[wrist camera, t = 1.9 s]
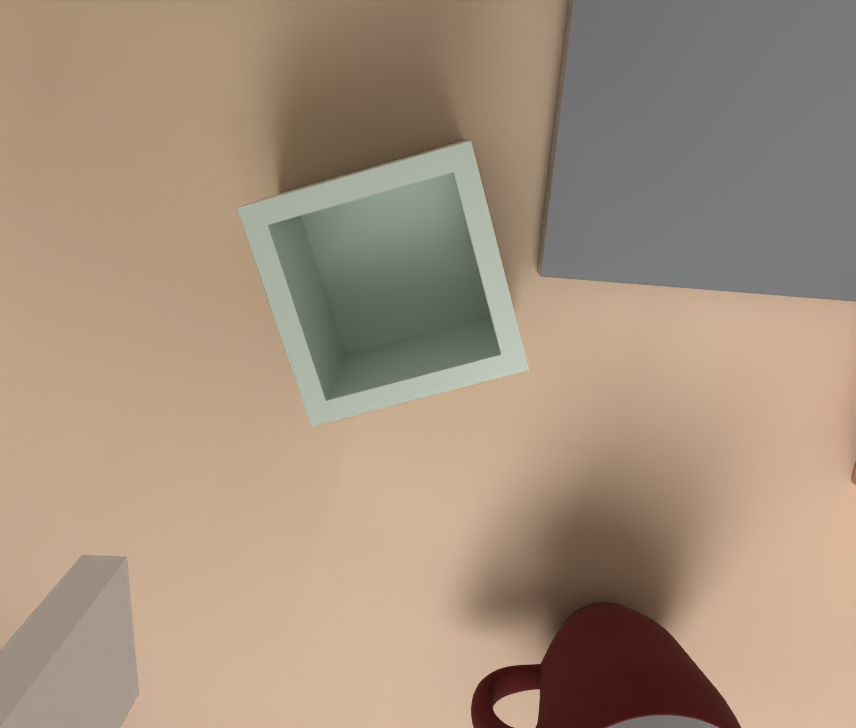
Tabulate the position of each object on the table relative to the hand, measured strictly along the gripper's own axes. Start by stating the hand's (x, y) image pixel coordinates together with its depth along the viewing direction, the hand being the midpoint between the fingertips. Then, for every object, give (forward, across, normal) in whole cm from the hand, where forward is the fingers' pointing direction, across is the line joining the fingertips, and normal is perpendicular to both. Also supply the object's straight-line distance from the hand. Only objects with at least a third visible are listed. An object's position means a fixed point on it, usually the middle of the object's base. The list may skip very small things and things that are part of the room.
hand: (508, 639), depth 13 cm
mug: (+22, +6, -15) cm, 27 cm away
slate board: (+22, +13, +10) cm, 27 cm away
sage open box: (+22, -3, +3) cm, 22 cm away
